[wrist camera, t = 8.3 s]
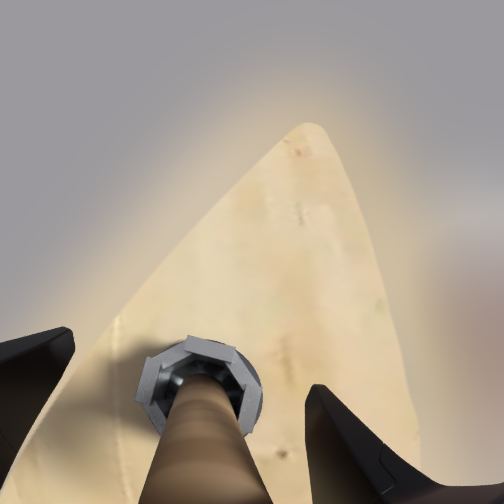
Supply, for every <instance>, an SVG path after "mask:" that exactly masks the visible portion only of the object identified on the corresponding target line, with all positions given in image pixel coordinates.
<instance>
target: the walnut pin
mask: <svg viewBox="0 0 504 504" xmlns="http://www.w3.org/2000/svg"><path fill="white" fill-rule="evenodd" d="M138 504H273V502H272V500H271V498H270V496H269V494H268V492H267V490H266V487H265V485H264V483H263V481H262V479H261V476H260V474H259V472H258V470H257V467H256V465H255V463H254V461H253V458H252V456H251V454H250V451H249V449H248V446H247V444H246V441H245V439H244V437H243V434H242V432H241V429H240V427H239V424H238V421H237V419H236V416H235V414H234V411H233V408H232V406H231V403H230V400H229V398H228V395H227V392H226V389H225V387H224V385H223V384H222V383H221V382H220V381H219V380H218V379H217V378H215V377H214V376H211V375H208V374H202V373H200V374H194V375H191V376H189V377H187V378H186V379H184V380H183V382H182V383H181V384H180V386H179V389H178V391H177V394H176V397H175V399H174V402H173V405H172V408H171V410H170V413H169V416H168V419H167V421H166V424H165V427H164V430H163V432H162V435H161V438H160V441H159V444H158V447H157V449H156V452H155V455H154V458H153V461H152V464H151V467H150V470H149V472H148V475H147V478H146V481H145V484H144V487H143V490H142V493H141V496H140V499H139V503H138Z"/></svg>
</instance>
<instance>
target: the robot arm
mask: <svg viewBox="0 0 504 504" xmlns="http://www.w3.org/2000/svg"><path fill="white" fill-rule="evenodd" d="M74 352H75V343H74V337H73V332H72V330H71V329H69V328H66V327H59V328H55V329H51V330H47V331H44V332H41V333H36V334H32V335H29V336H25V337H21V338H17V339H13V340H10V341H5V342H2V343H0V490H1V488H2V486H3V483H4V481H5V479H6V477H7V474H8V472H9V470H10V468H11V466H12V464H13V462H14V459H15V457H16V455H17V453H18V451H19V449H20V447H21V446H22V444H23V442H24V440H25V438H26V436H27V434H28V433H29V431H30V429H31V427H32V425H33V424H34V422H35V420H36V418H37V417H38V415H39V413H40V412H41V410H42V408H43V406H44V405H45V403H46V402H47V400H48V398H49V397H50V395H51V394H52V392H53V390H54V389H55V387H56V386H57V384H58V382H59V381H60V379H61V377H62V375H63V373H64V371H65V369H66V367H67V365H68V364H69V362H70V360H71V358H72V356H73V354H74ZM305 444H306V452H307V460H308V468H309V476H310V484H311V493H312V502H313V504H504V482H503V483H500V484H493V485H481V486H445V485H442V484H439V483H437V482H435V481H433V480H431V479H430V478H428V477H427V476H426V475H424V474H423V473H421V472H420V471H418V470H417V469H415V468H414V467H413V466H411V465H410V464H408V463H407V462H406V461H405V460H403V459H402V458H401V457H399V456H398V455H397V454H396V453H395V452H394V451H393V450H391V449H390V448H389V447H388V446H387V445H386V444H385V443H383V441H382V440H380V439H379V438H378V437H377V436H376V435H375V434H374V433H373V432H372V431H371V430H370V429H369V428H368V427H367V426H366V425H365V424H364V423H363V422H362V421H361V420H360V419H359V418H358V417H356V416H355V415H354V414H353V413H352V412H351V411H350V410H349V409H348V408H347V407H346V406H345V405H344V404H343V403H342V402H341V401H340V400H339V399H338V398H337V397H336V396H335V395H334V394H333V393H332V392H331V391H330V390H329V389H328V388H327V387H326V386H325V385H322V384H314V385H312V387H311V389H310V391H309V394H308V396H307V398H306V401H305Z"/></svg>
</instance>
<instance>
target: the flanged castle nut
mask: <svg viewBox="0 0 504 504" xmlns="http://www.w3.org/2000/svg"><path fill="white" fill-rule="evenodd" d="M235 348H236V347H233V346H228V345H226V344H224V343H220V342H217V341H213V340H206V339H201V338H197V337H194V336H190V335H188V336H187V339H186V340H185V341H183V342H181V343H178V344H176V345H173V346H171V347H170V348H168V349H167V350H165V351H164V352H162V353H161V354H159V355H157V356H155V357H153V358H151V357H148V356H147V358H146V361H145V364H144V368H143V371H142V375H141V378H140V382H139V386H138V389H137V393H136V397H135V401H137V402H139V403H141V404H142V406H143V408H144V410H145V411H146V413H147V415H148V416H149V418H150V420H151V421H152V423H153V425H154V426H155V428H156V430H157V431H158V433H159V434H160V436H161V435H162V432H163V430H164V427H165V424H166V421H167V419H168V416H169V413H170V410H171V408H172V405H173V402H174V399H175V397H176V394H177V391H178V389H179V386H180V384H181V383H182V382H183V380H184V379H186V378H187V377H189V376H191V375H194V374H200V373H202V374H208V375H211V376H214V377H215V378H217V379H218V380H219V381H220V382H221V383H222V384H223V385H224V387H225V389H226V392H227V395H228V398H229V400H230V403H231V406H232V408H233V411H234V414H235V416H236V419H237V421H238V424H239V427H240V429H241V432H242V434H243V437H245V436H246V435H247V434H248V433H252V432H253V428H254V425H255V424H256V422H257V420H258V418H259V416H260V412H261V409H262V402H263V393H262V388H263V387H261V383H260V380H259V377H258V375H257V373H256V371H255V369H254V368H253V366H252V365H251V364H250V362H249V361H248V360H247V359H246V358H245V357H244V356H243V355H242V354H241V353H239V352H238V351H237V350H235Z"/></svg>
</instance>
